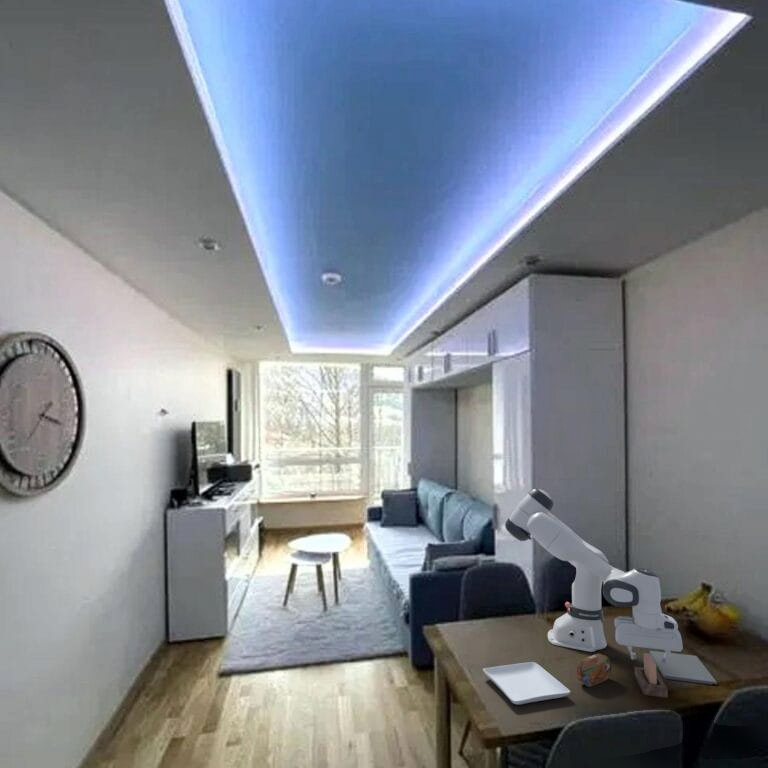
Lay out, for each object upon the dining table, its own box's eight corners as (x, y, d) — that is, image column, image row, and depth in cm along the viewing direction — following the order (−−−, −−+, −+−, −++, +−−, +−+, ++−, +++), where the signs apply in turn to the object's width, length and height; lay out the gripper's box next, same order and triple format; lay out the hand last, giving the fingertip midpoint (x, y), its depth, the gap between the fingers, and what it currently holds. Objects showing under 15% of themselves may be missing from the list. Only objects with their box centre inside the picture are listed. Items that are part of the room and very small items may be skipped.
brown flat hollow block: (643, 694, 163) (643, 685, 163) (634, 675, 176) (634, 666, 176) (667, 697, 161) (667, 688, 162) (656, 678, 174) (656, 669, 174)
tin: (583, 689, 166) (582, 663, 167) (575, 685, 169) (574, 659, 170) (612, 678, 174) (611, 653, 174) (604, 674, 176) (604, 650, 177)
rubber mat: (664, 678, 174) (664, 675, 174) (649, 653, 193) (649, 650, 193) (716, 685, 170) (716, 682, 170) (696, 658, 189) (696, 655, 189)
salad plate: (572, 701, 159) (572, 690, 160) (513, 712, 153) (513, 700, 154) (534, 670, 180) (534, 660, 180) (481, 678, 174) (481, 668, 174)
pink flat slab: (650, 692, 165) (649, 663, 166) (644, 680, 173) (643, 653, 173) (657, 693, 164) (656, 664, 165) (650, 681, 172) (649, 653, 173)
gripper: (615, 618, 170) (617, 660, 169) (683, 625, 164) (685, 669, 163) (612, 611, 176) (613, 652, 175) (677, 618, 170) (679, 660, 169)
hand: (648, 660), depth 169 cm, fingers open, 8 cm apart
